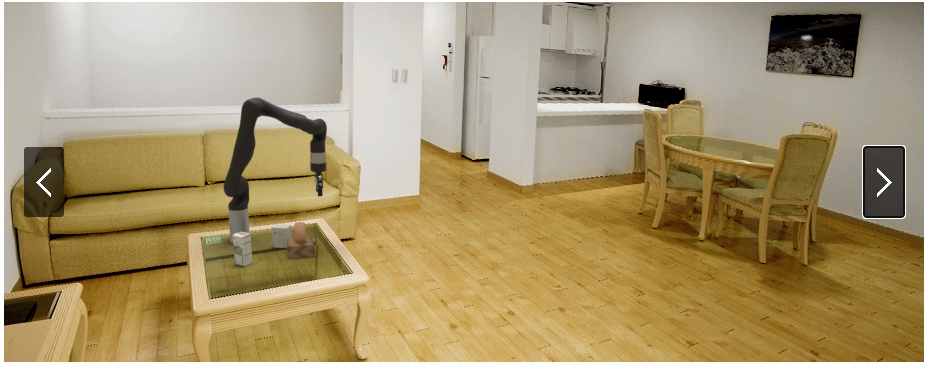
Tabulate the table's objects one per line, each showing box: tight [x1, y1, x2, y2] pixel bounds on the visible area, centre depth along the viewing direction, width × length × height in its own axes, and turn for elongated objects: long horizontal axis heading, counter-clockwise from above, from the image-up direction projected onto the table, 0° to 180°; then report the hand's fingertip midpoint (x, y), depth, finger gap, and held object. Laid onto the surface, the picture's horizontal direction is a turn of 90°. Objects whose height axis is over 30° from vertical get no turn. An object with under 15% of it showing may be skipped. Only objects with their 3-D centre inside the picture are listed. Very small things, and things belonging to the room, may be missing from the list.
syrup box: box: [232, 232, 253, 267], centre depth 280 cm, size 6×6×14 cm
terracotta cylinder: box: [294, 221, 307, 243], centre depth 294 cm, size 5×5×9 cm
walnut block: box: [286, 236, 316, 260], centre depth 295 cm, size 12×12×6 cm
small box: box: [271, 223, 293, 249], centre depth 304 cm, size 8×6×10 cm
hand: (319, 194), depth 296 cm, fingers open, 8 cm apart
